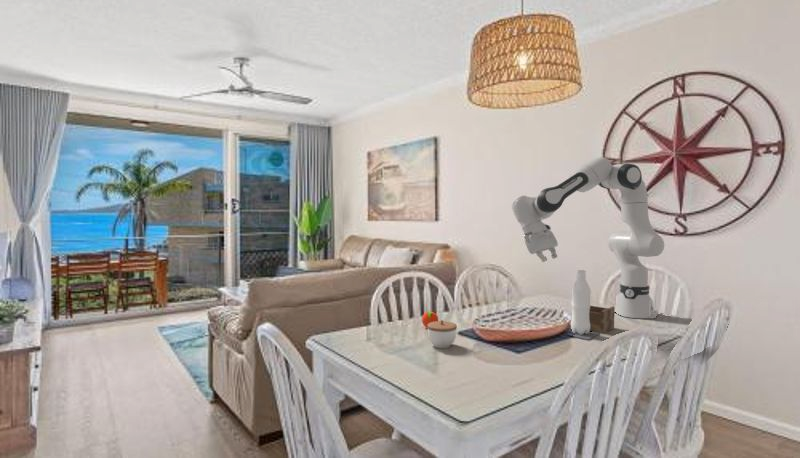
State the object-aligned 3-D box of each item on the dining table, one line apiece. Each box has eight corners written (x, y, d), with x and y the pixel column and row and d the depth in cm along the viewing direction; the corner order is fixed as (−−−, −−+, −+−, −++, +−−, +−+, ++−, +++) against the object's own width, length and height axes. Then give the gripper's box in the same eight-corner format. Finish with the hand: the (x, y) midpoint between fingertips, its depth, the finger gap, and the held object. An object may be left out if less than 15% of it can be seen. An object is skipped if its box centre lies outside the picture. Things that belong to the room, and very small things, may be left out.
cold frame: (585, 323, 197) (585, 302, 197) (614, 328, 189) (614, 306, 188) (573, 328, 189) (573, 307, 188) (602, 333, 180) (603, 311, 180)
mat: (572, 329, 187) (572, 328, 187) (599, 334, 179) (599, 333, 179) (560, 334, 179) (560, 333, 179) (588, 340, 172) (588, 339, 172)
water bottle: (593, 335, 176) (594, 272, 175) (574, 335, 176) (575, 272, 175) (585, 330, 183) (586, 269, 182) (568, 330, 183) (568, 269, 182)
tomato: (437, 331, 185) (437, 314, 185) (420, 330, 186) (420, 313, 186) (438, 326, 193) (438, 309, 193) (422, 325, 194) (422, 309, 194)
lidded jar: (455, 351, 159) (455, 324, 159) (425, 349, 161) (425, 323, 161) (457, 342, 170) (457, 317, 169) (429, 340, 172) (429, 316, 172)
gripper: (528, 230, 187) (544, 260, 183) (551, 225, 201) (566, 253, 197) (517, 237, 191) (532, 266, 187) (540, 231, 205) (555, 259, 201)
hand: (550, 259), depth 192 cm, fingers open, 8 cm apart
